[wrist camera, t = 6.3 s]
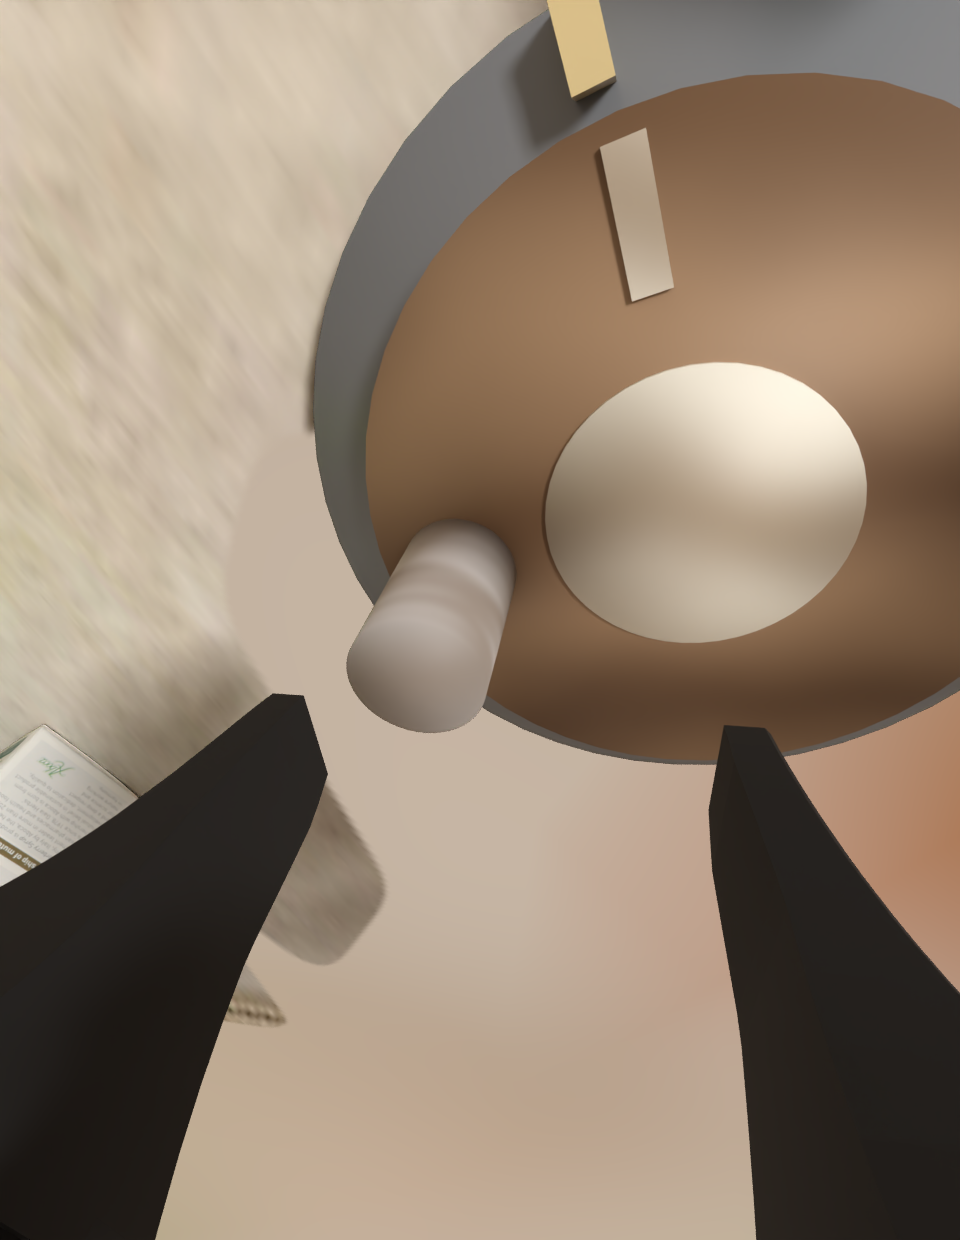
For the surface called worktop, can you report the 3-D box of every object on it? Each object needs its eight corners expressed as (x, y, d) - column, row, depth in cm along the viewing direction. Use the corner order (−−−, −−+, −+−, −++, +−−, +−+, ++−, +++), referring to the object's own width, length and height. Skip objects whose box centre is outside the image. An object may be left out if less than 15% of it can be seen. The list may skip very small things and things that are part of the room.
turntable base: (1488, 36, 11) (1656, 13, 9) (880, 799, 23) (901, 853, 21) (326, -138, 12) (275, -186, 10) (327, 669, 24) (303, 710, 22)
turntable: (1048, 686, 18) (1202, 884, 13) (495, 750, 23) (460, 907, 18) (1151, -118, 10) (1651, -377, 5) (274, 264, 15) (110, 316, 10)
